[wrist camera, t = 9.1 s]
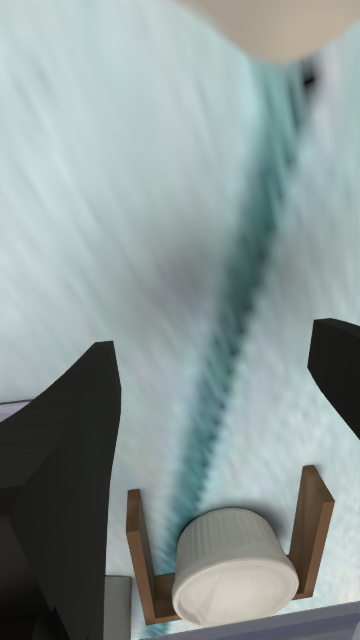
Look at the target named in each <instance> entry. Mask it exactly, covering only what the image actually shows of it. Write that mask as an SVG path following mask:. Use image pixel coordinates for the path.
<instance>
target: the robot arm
mask: <svg viewBox="0 0 360 640" xmlns="http://www.w3.org/2000/svg"><path fill="white" fill-rule="evenodd" d="M307 368H308V370H309V372H310V373H311V375H312V377H313V379H314V381H315V382H316V384H317V386H318V387H319V389H320V390H321V392H322V393H323V394H324V396H325V397H326V398H327V400H328V401H329V402H330V403H331V405H332V406H333V407H334V408H335V410H336V411H337V412H338V413H339V415H340V416H341V417H342V418H343V420H344V421H345V422H346V423H347V425H348V426H349V427H350V428H351V430H352V431H353V432H354V433H355V435H356V436H357V437H358V438H359V440H360V326H358V325H355V324H352V323H348V322H345V321H341V320H337V319H332V318H327V319H317V320H314V323H313V330H312V337H311V344H310V352H309V359H308V366H307ZM120 415H121V384H120V378H119V372H118V366H117V360H116V355H115V349H114V343H113V341H104V342H95V343H94V344H93V345H92V346H91V347H90V348H89V349H88V350H87V351H86V352H85V353H84V354H83V355H82V356H81V357H80V358H79V359H78V360H77V361H76V362H75V363H74V364H73V365H72V366H71V367H70V368H69V369H68V370H67V371H66V372H65V373H64V374H63V375H62V376H61V377H60V378H58V379H57V380H56V381H55V382H54V383H53V384H52V385H51V386H50V387H48V388H47V389H46V390H45V391H44V392H42V393H41V394H40V395H39V396H37V397H36V398H35V399H34V400H32V401H29V402H21V403H12V404H4V405H0V640H103V635H104V596H105V568H106V544H107V523H108V505H109V489H110V479H111V472H112V465H113V459H114V453H115V447H116V441H117V435H118V428H119V422H120ZM140 640H360V601H356V602H350V603H345V604H339V605H333V606H327V607H322V608H316V609H310V610H305V611H299V612H293V613H288V614H282V615H276V616H271V617H265V618H259V619H253V620H248V621H242V622H236V623H231V624H225V625H219V626H214V627H208V628H202V629H197V630H191V631H185V632H179V633H174V634H168V635H162V636H157V637H151V638H145V639H140Z"/></svg>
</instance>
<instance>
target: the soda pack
mask: <svg viewBox="0 0 360 640" xmlns="http://www.w3.org/2000/svg"><path fill="white" fill-rule="evenodd" d="M103 640H131V577H127V576H105V596H104V635H103Z"/></svg>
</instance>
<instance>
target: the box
mask: <svg viewBox="0 0 360 640" xmlns="http://www.w3.org/2000/svg"><path fill="white" fill-rule="evenodd" d="M334 503H335V500H334V499H333V497H332V495H331V494H330V492H329V490H328V489H327V487H326V485H325V483H324V482H323V480H322V478H321V477H320V475H319V473H318V472H317V470H316V468H315V467H314V465H312V466H304V467H303V471H302V477H301V484H300V490H299V496H298V502H297V509H296V515H295V521H294V528H293V534H292V540H291V546H290V553H289V555H286V557H287V558H288V559H289V560H290V561H291V563H292V564H293V566H294V568H295V570H296V573H297V576H298V580H299V586H298V589H297V592H296V594H295V596H294V597H293V598H292V600H297V599H303V598H308V597H312V596H313V592H314V587H315V583H316V579H317V575H318V571H319V566H320V562H321V558H322V554H323V550H324V545H325V541H326V537H327V533H328V529H329V524H330V520H331V516H332V512H333V508H334ZM126 535H127V540H128V544H129V549H130V554H131V558H132V563H133V567H134V572H135V577H136V581H137V586H138V590H139V595H140V600H141V604H142V609H143V613H144V618H145V622H146V625H152V624H158V623H164V622H169V621H175V620H181V619H182V618H180V617H179V615H178V614H177V613H176V612H175V610H174V607H173V602H172V588H173V584H174V582H175V573H174V574H168V575H162V576H156V577H154V573H153V567H152V561H151V555H150V550H149V544H148V538H147V532H146V526H145V520H144V515H143V509H142V503H141V497H140V491H139V490H133V491H128V498H127V519H126Z"/></svg>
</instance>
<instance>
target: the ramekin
mask: <svg viewBox="0 0 360 640" xmlns="http://www.w3.org/2000/svg"><path fill="white" fill-rule="evenodd" d="M298 586H299V580H298V576H297V573H296V570H295V568H294V566H293V564H292V563H291V561H290V560H289V559H288V558H287V557H286V555H285V553H284V551H283V549H282V547H281V545H280V543H279V541H278V539H277V537H276V536H275V534H274V532H273V530H272V528H271V527H270V525H269V523H268V522H267V521H266V520H265V519H264V518H262V517H261V516H259V515H258V514H256V513H254V512H252V511H250V510H247V509H243V508H223V509H218V510H214V511H211V512H208V513H205V514H203V515H201V516H199V517H198V518H196V519H195V520H193V521H192V522H191V523H190V524H189V525H188V526H187V527H186V528H185V530H184V531H183V533H182V534H181V536H180V538H179V541H178V544H177V554H176V569H175V582H174V584H173V588H172V602H173V607H174V610H175V612H176V613H177V614H178V615H179V617H180V618H182V619H183V620H184V621H186V622H188V623H190V624H192V625H195V626H199V627H204V628H208V627H214V626H219V625H225V624H231V623H236V622H242V621H248V620H253V619H259V618H265V617H269V616H271V615H273V614H275V613H276V612H278V611H279V610H281V609H282V608H284V607H285V606H286V605H287V604H288V603H289V602H290V601H291V600H292V598H293V597H294V596H295V594H296V592H297V589H298Z"/></svg>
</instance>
